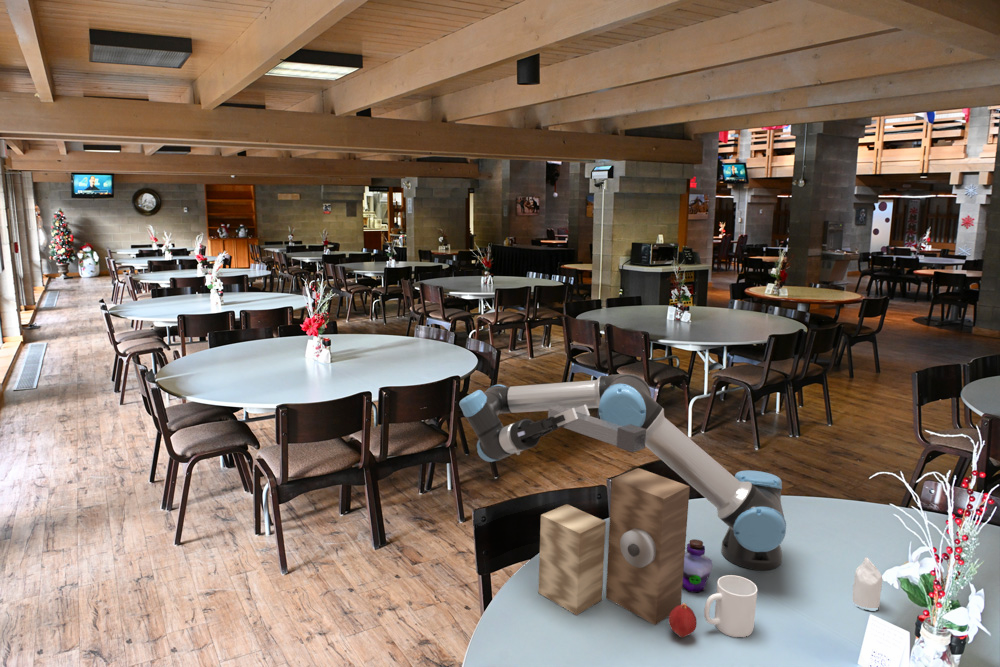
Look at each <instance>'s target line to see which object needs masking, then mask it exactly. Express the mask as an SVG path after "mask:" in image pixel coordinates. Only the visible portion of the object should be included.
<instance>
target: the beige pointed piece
mask: <svg viewBox="0 0 1000 667" xmlns="http://www.w3.org/2000/svg"><path fill="white" fill-rule="evenodd" d="M854 573H855V574H854V580H853V585H852V599H851V601H852V600H853V602H854V603H855V604H857V605H859V606H861V607H865V608H866V607H867V608H878V607H879V608H880V603H881V602H880V601H881V593H882V587H883V576H882V574H881V572H880V571H879V569H878V568H877V567H876V566H875V564H873V562H872V561H871V560H870V559H869V558H868V557H865V558H863V561H862V563H861V564H860V565H859V566H857V568H856V569H855V572H854ZM853 602H852V603H853Z"/></svg>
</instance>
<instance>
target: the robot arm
mask: <svg viewBox="0 0 1000 667" xmlns="http://www.w3.org/2000/svg"><path fill="white" fill-rule="evenodd" d="M458 404H459V407H460V409H461V411H462V413H463V416H464V417H465V418H466V420H467V422H468V423H469V425H470V427H471V428H472V429H473V430H472V431H473V432H474V433H475V435H476V437H477V439H478V440H477V443H476V448H477V450H476V451H477V452H476V453H478V456H479V457H480V459H482V460H483V461H485V462H489V463H490V462H491V463H493V462H497V461H502V460H503V459H505V458H508V457H509V456H512V455H517V456H519V455H521V452H524V451H526V450H529V449H531V448H534V447H536V446H537V445H538V443H539V442H540V438H541V437H545V436H546V435H547V434H549V433H552V432H554V431H556V430H558V429H560V428H562V427H561V425H563V424H566V423H568V422H571V421H573V420H576V419H578V417H577V414H576V412H579V413H582V414H585V415H589V416H591V414H590V411H589V409H598V415H599V419H601V420H604V421H607V422H611V423H614V424H617V425H620V426H625V425H629V424H631V425H635V426H638V427H641V428H644V429H646V440H645V448H647V449H648V450H650V451H651V452H652V453H653V454H654V455H655V456H656V457H658V459H660V460H661V461H662V462H664V463H665V464H666V465H667V466H668V468H670V469H671V470H672V471H674V472H675V474H677V475H678V476H679V477H681V478H682V479H683V481H685V482H686V483H687V484H688V485H689V486H690V487H692V488H693V489H694V490H696V491H697V492H698V493H699V494H700V495H701V496H702V497H704V499H706V500H707V501H709V503H711V504H712V505H713V506H714V507H715V508H716V510H717V517H718V518H719V520H721V521H722V522H723V523H724V524H725V525H727V526H728V529H727V531H726V532H725V535H724V537H723V539H722V542H721V548H720V549H721V550H720V551H721V555H722V556H723V557H724V558H725V559H726V560H728V561H729V562H730V563H732V564H733V565H736V566H739V567H742V568H745V569H748V570H749V569H750V570H754V571H755V570H756V571H769V570H773V569H776V568H778V567H779V566H780V565H781V564H782V558H783V551H782V547H781V544H782V542H784V539H785V536H786V530H787V522H786V520H785V516H784V515H785V514H784V510H783V507H782V501H781V497H782V489H783V487H782V486H783V482H782V479H781V478H780V477H779V476H777V475H775V474H773V473H770V472H769V473H768V472H764V471H760V470H759V471H758V470H749V469H748V470H741V471H738V472H736V473H735V474H734V475H733V474H732V473H731V472H729V471H728V470H727V469H726V468H724V466H722V465H721V464H720V463H719V462H718V461H717V460H716V459H714V458H713V457H712V456H711V455H709V453H707V452H706V451H705V450H704V449H702V448H701V447H700V446H699V445H697V444H696V443H695V441H694V440H692V439H690V437H688V436H687V435H686V434H685V433H683V431H681V430H680V428H678V427H676V426H675V424H673V423H672V422H671V421H670V420H669V419H667V418H666V417H665V408H663V406H661V405H660V404H659V403H658V402H657V401H656V400H655V399H653V398H652V391H651V389H650V386H649V385H648V383H647V381H645V380H644V379H643V378H642V377H640V376H638V375H637V374H634V373H633V374H632V373H619V374H610V375H609V374H608V375H600V376H598V377H597V379H595V380H594V379H593V380H581V381H568V382H555V383H553V382H552V383H540V384H529V385H528V384H527V385H516V386H506V385H504V384H495V385H491V386H490V387H488V388H487V389H486V390H485V391H482V390H481V389H477V390H475V391H474V392H472V393H470V394H468V395H466V396H465V397H463V398H462V399H461V400H460V401H459V403H458ZM555 406H561V407H564V408H567V409H569V410H567V411H564V412H562V413H559V414H557V415H555V416H554V417H555V418H553V417H550V418H548V417H547V418H542V420H541V419H540V420H537V421H533V420H531V419H528V418H524V419H523V418H522V419H521V420H518V421H516V422H513V423H510V424H508V425H506V426H504V425H503V423H502V422H501V420H500V418H499V417H498V416H499V415H500V414H512V413H513V414H515V413H528V412H532V413H533V412H548V408H551V407H555ZM575 411H576V412H575ZM556 424H557V425H556Z"/></svg>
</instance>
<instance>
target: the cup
mask: <svg viewBox="0 0 1000 667" xmlns="http://www.w3.org/2000/svg"><path fill="white" fill-rule="evenodd" d="M716 583H717V584H716V593H713V594H710V595H709V596H708V598H706V601H705V605H704V610H703V613H704V619H705V621H706V622H707V623H708V624H710V625H715V627H716V628H717V629H718V630H719V631H720V632H721V633H722V634H724V635H726V636H729V637H732V638H737V637H743V638H747V637H749V636H750V635H751V634H753V631H754V629H755V628H754V627H755V618H756V610H757V609H756V608H757V599H758V598H757V597H758V587H757V585H756V583H755V582H753V581H752V580H751V579H748V578H746V577H743V576H740V575H734V574H733V575H732V574H730V575H728V574H727V575H722V576H721V577H719V578H718V579H717V582H716ZM714 601H715V606H714V607H715V608H714V618H712V617H711V616H710V609H711V605H712V603H713V602H714ZM746 636H747V637H746Z"/></svg>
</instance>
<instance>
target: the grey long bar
mask: <svg viewBox="0 0 1000 667" xmlns="http://www.w3.org/2000/svg"><path fill="white" fill-rule="evenodd" d="M567 410H569V409H567V408H564V407H561V406H555V407H551V408H548V411H547V419H548V418H550V417H553V418H555V417H554V416H555V415H557V414H559V413H562V412H564V411H567ZM575 412H576V411H575ZM576 414H577V417H578V419H576V420H573V421H571V422H568V423H566V424H563V425H561V427H560V428H564V429H567V430H570V431H571V432H574V433H577V434H581V435H584V436H587V437H588V438H589V437H590V438H593V439H596V440H598V441H601V442H603V443H606V444H610V445H611V446H612V445H613V446H615V447H616V448H618V449H621V450H624V451H627V452H630V453H636V452H639V451H641V450H644V449H645V448H646V446H645V440H646V429H644V428H641V427H638V426H635V425H631V424H629V425H625V426H620V425H617V424H614V423H611V422H607V421H604V420H601V419H600V418H598V417H594V416H592V415H585V414H582V413H579V412H576ZM556 425H557V424H556Z"/></svg>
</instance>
